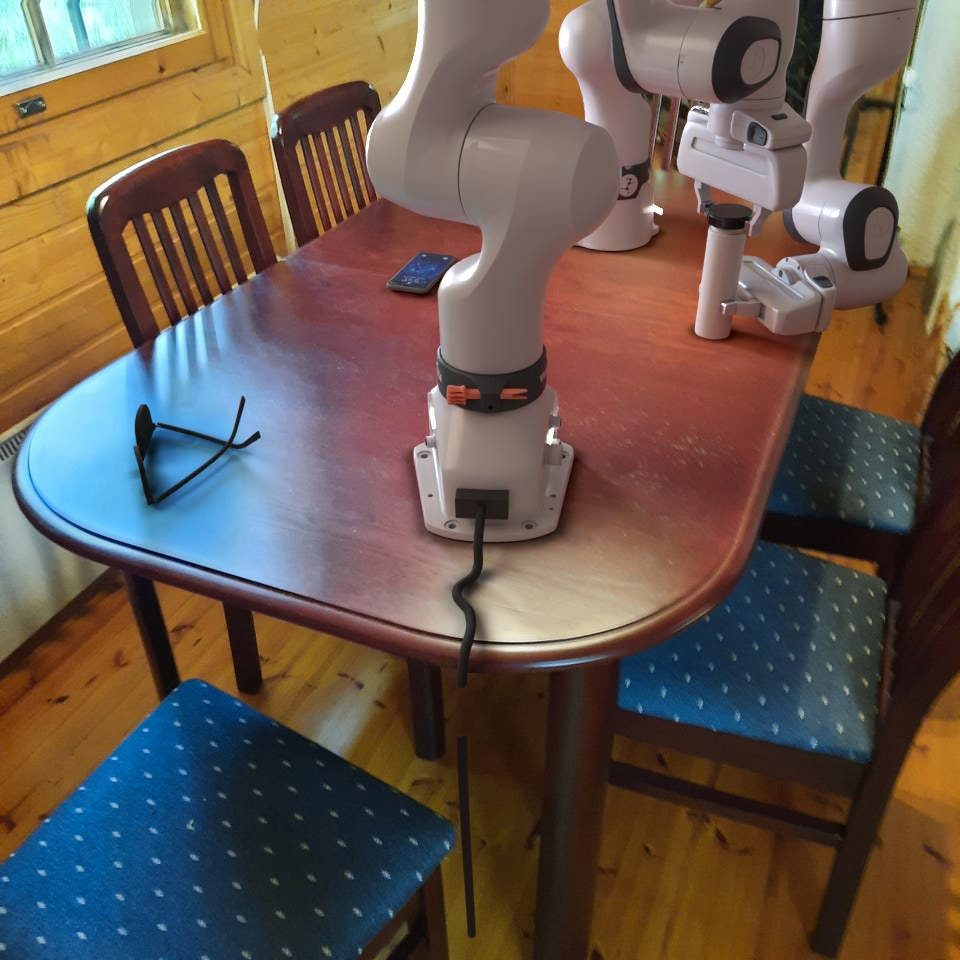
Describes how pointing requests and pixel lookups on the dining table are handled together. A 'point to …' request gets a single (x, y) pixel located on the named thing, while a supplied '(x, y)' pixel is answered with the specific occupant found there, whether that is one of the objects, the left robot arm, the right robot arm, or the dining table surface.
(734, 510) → the dining table surface
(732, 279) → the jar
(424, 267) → the smartphone
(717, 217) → the lid
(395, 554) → the dining table surface
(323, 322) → the dining table surface
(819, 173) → the right robot arm
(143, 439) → the sunglasses
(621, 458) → the dining table surface
